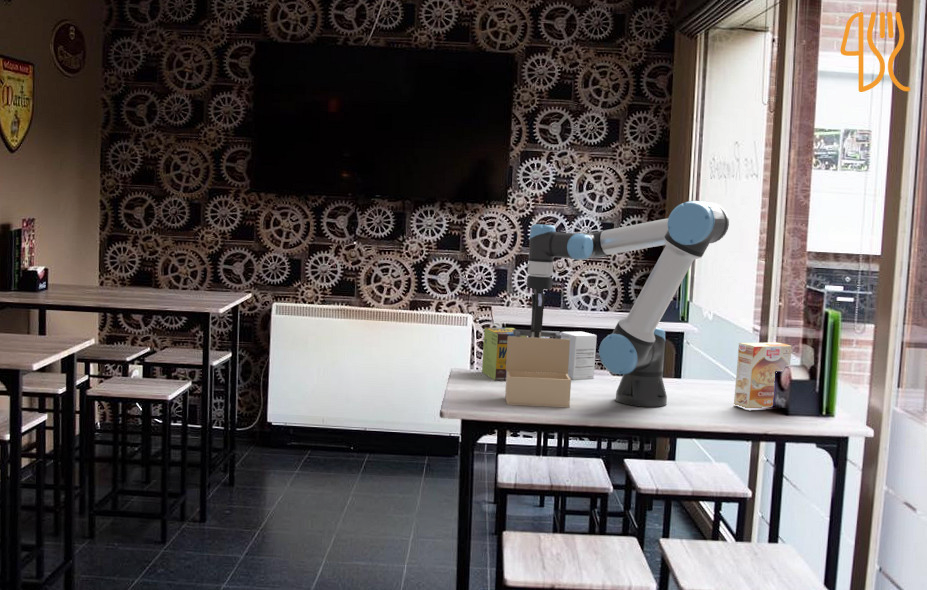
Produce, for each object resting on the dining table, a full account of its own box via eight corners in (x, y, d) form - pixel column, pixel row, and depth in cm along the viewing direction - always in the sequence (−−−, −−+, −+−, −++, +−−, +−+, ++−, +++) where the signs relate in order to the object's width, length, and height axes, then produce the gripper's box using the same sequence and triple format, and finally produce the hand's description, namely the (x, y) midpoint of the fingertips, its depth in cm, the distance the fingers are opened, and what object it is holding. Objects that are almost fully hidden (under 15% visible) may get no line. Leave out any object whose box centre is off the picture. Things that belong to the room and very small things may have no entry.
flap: (567, 373, 291) (564, 368, 300) (570, 335, 290) (566, 331, 299) (505, 370, 291) (504, 365, 300) (508, 332, 290) (506, 328, 299)
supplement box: (557, 375, 334) (560, 331, 333) (579, 373, 339) (581, 330, 337) (572, 379, 326) (575, 335, 325) (594, 378, 331) (597, 334, 329)
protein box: (494, 381, 318) (497, 333, 316) (481, 372, 332) (483, 326, 331) (525, 381, 320) (528, 333, 319) (510, 372, 335) (513, 327, 334)
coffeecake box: (748, 411, 289) (754, 346, 287) (732, 406, 295) (737, 342, 293) (787, 409, 295) (792, 345, 293) (770, 404, 302) (775, 341, 300)
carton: (565, 400, 292) (567, 373, 291) (569, 407, 282) (571, 379, 281) (505, 397, 291) (506, 370, 291) (506, 404, 282) (508, 376, 281)
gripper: (525, 273, 304) (520, 348, 306) (529, 276, 289) (524, 355, 292) (549, 274, 304) (544, 349, 306) (554, 278, 289) (549, 357, 292)
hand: (534, 352), depth 299 cm, fingers closed on flap, 2 cm apart
